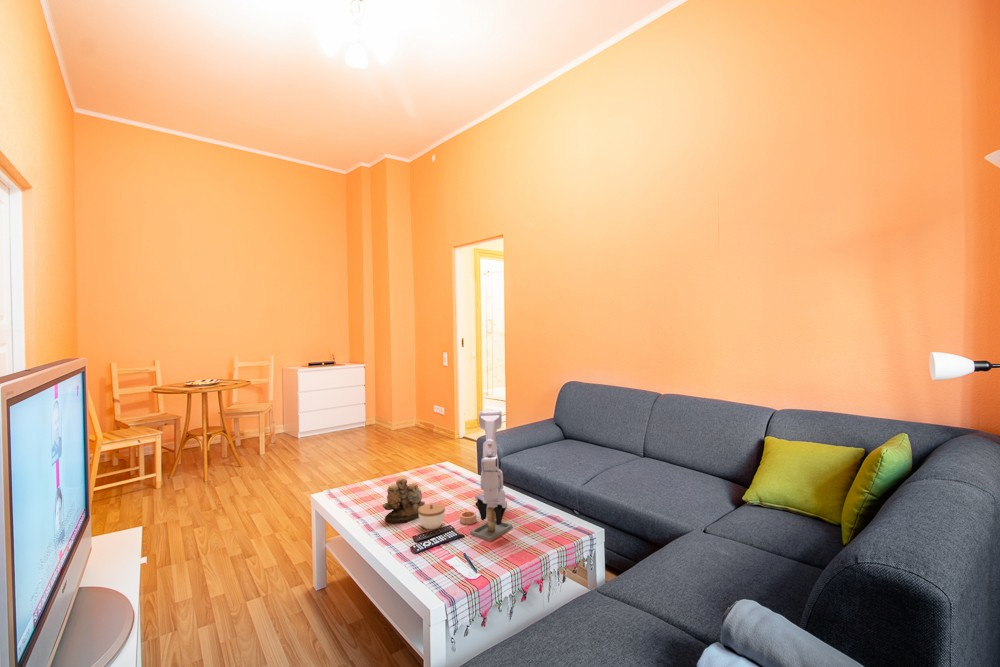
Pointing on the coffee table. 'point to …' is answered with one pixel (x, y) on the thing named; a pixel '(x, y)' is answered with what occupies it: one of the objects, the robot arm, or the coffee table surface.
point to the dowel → (491, 519)
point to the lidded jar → (431, 515)
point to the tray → (484, 534)
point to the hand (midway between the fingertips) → (491, 521)
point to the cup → (468, 517)
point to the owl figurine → (403, 502)
